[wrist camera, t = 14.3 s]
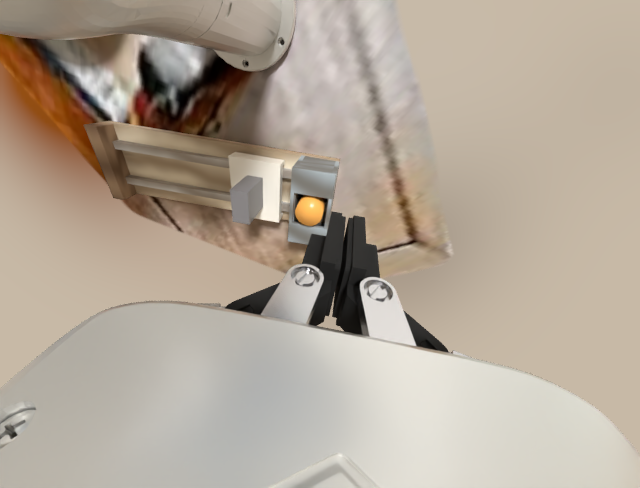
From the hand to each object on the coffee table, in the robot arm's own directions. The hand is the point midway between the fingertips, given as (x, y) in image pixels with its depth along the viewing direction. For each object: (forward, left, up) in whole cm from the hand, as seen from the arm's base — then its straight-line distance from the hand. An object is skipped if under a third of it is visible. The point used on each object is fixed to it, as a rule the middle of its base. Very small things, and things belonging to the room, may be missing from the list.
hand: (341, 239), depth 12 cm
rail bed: (+10, -21, -29) cm, 37 cm away
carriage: (+10, -14, -27) cm, 32 cm away
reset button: (+10, -4, -25) cm, 27 cm away
